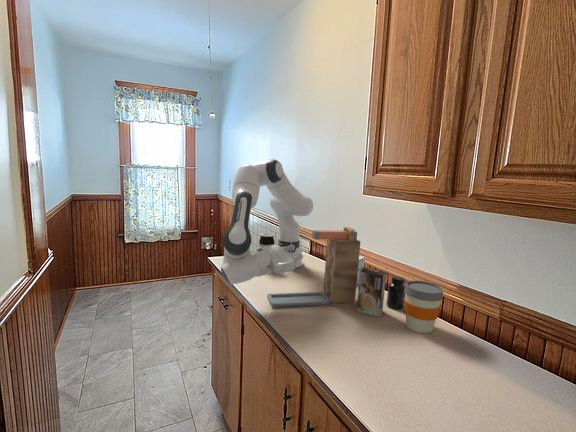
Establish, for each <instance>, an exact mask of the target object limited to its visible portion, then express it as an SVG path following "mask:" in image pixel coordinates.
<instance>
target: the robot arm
mask: <svg viewBox="0 0 576 432" xmlns="http://www.w3.org/2000/svg"><path fill="white" fill-rule="evenodd" d="M282 165H283V164H282V163H281V162H280V161H278V160H277V159H267V160H261V161H255V162H253V163H250V164H243V165H242V166H241V165H240V167H239V168H238V170H237V172H236V175H235V176H234V177H235V178H234V181H233V185H232V191H231V193H232V194H231V195H232V196H231V199H232V204H233V212H232V217H231V221H230V224H229V226H228V228H227V229H226V231H225V232H224V233H223V237H222V245H223V250H224V251H223V259H222V264H221V265H220V271H221V272H220V273H222V276H223V278H224V280H225V281H226V283H228V284H229V285H238V284H241V283H244V282H248V281H251V280H252V279H254V278H258V277H263V276H265V275H268V274H271V273H275V274H284V273H288V272H291V271H294V270H295V269H297V268H299V267H301V266H305V263H304V261H303V259H304V255H303V250H302V249H301V248H300V247H301V241H300V234H301V233H300V232H301V227H300V224H299V222H297V221H296V220H295V218H294V216H296V217H307V216H309V215H311V213H312V212H313V210H314V202H313V200H312V199H311V198H310V197H308V196H306V195H305V194H303V193H302V192H301V191H299V189H297V188H296V187H295V186H294V185H293V184H292V183H291V181H290V179H289V178H288V176H287V175H286V173H285V172H284V168H283V166H282ZM263 186H265V187H266V188H267V190H268V191H269V192H270V194H271V195H272V196H271V198H270V200H269V201H270V202H269V203H270V204H269V205H270V208H271V209H272V210H273V212H274V213H275V215H276V217H277V220H278V221H277V222H278V226H279V227H278V229H279V230H278V231H279V232H278V239H277V244H276V243H274V244H273V245H269V246H266V247H263V248H262V247H260V248H259V247H257V248H256V252H255V253H254V254H252V253H251V251H250V248H251V245H252V235H251V232H250V229H249V223H250V216H251V211H252V209H253V208H254V207H256V205H257V204H258V203H257V202H258V199H259V196H260V195H259V194H260V189H261V188H260V187H263Z"/></svg>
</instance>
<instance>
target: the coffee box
mask: <svg viewBox="0 0 576 432" xmlns="http://www.w3.org/2000/svg"><path fill="white" fill-rule="evenodd" d="M386 276H387V271H384V270H377V269H373V268H370V267H369V268H367V267H364V268H363V269H362V270H361V271H360V277H359V283H358V290H357V303H356V312H360V313H363V314H367V315H371V316H375V317H377V318H379V317H381V316H382V314H383V312H384V311H383V310H384V300H385V299H384V298H385V289H386V288H385V287H386V281H387V280H386V279H387V277H386Z"/></svg>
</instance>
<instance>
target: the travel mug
mask: <svg viewBox="0 0 576 432" xmlns="http://www.w3.org/2000/svg"><path fill="white" fill-rule="evenodd" d="M259 236H260V238H259V239H258V248H260V247H262V248H263V247H266V246H269V245H273V244H275V239H274V237H275V234H273V233H271V232H262V233H259Z"/></svg>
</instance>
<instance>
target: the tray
mask: <svg viewBox="0 0 576 432" xmlns="http://www.w3.org/2000/svg"><path fill="white" fill-rule="evenodd" d="M266 297H267V300H268V302H269V305H270V306H271V309H278V308H279V309H281V308H282V309H283V308H299V307H301V308H302V307H303V308H304V307H321V306H332V305H331V300H330V299H329V298H328V297H327V296H326V295H325V294H324V292H323V291H311V292H310V291H307V292H286V293H285V292H283V293H281V292H280V293H267V296H266Z"/></svg>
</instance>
